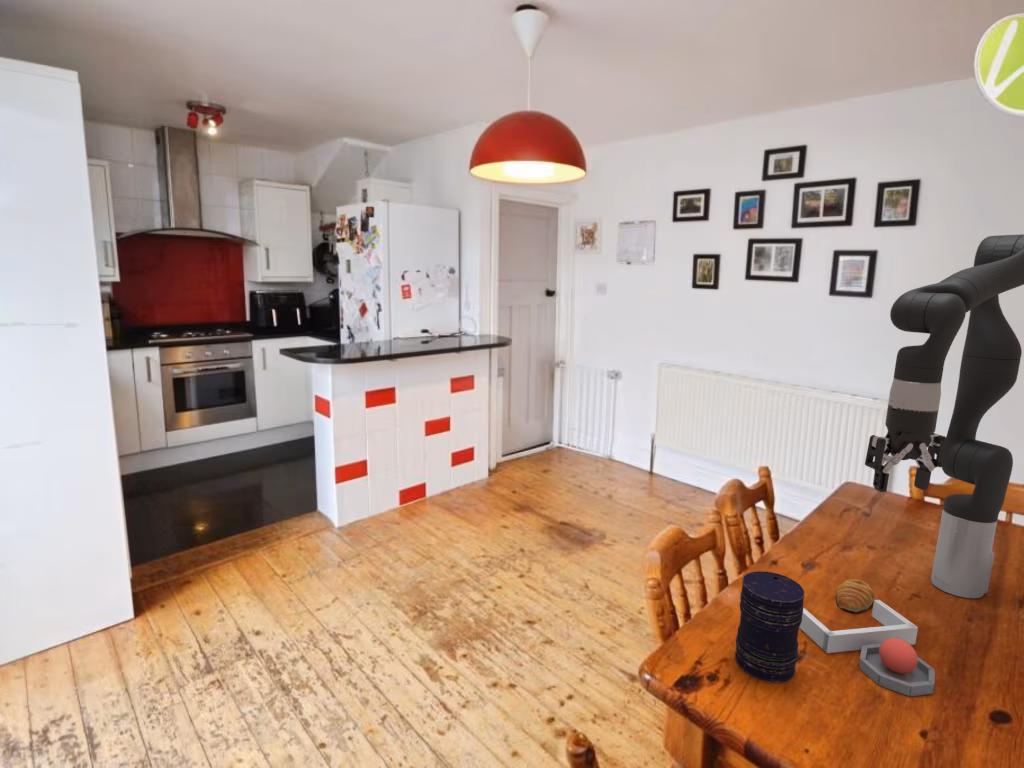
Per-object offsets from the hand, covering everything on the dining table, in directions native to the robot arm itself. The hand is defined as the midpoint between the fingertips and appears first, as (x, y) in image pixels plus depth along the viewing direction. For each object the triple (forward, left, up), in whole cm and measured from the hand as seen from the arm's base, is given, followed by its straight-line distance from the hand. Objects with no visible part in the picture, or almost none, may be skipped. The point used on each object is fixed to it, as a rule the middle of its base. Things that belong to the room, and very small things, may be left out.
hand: (900, 489), depth 106 cm
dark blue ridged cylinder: (+29, +7, -28) cm, 41 cm away
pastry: (-1, -8, -29) cm, 30 cm away
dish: (+8, +13, -28) cm, 32 cm away
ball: (+8, +13, -28) cm, 31 cm away
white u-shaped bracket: (+7, +2, -28) cm, 29 cm away
